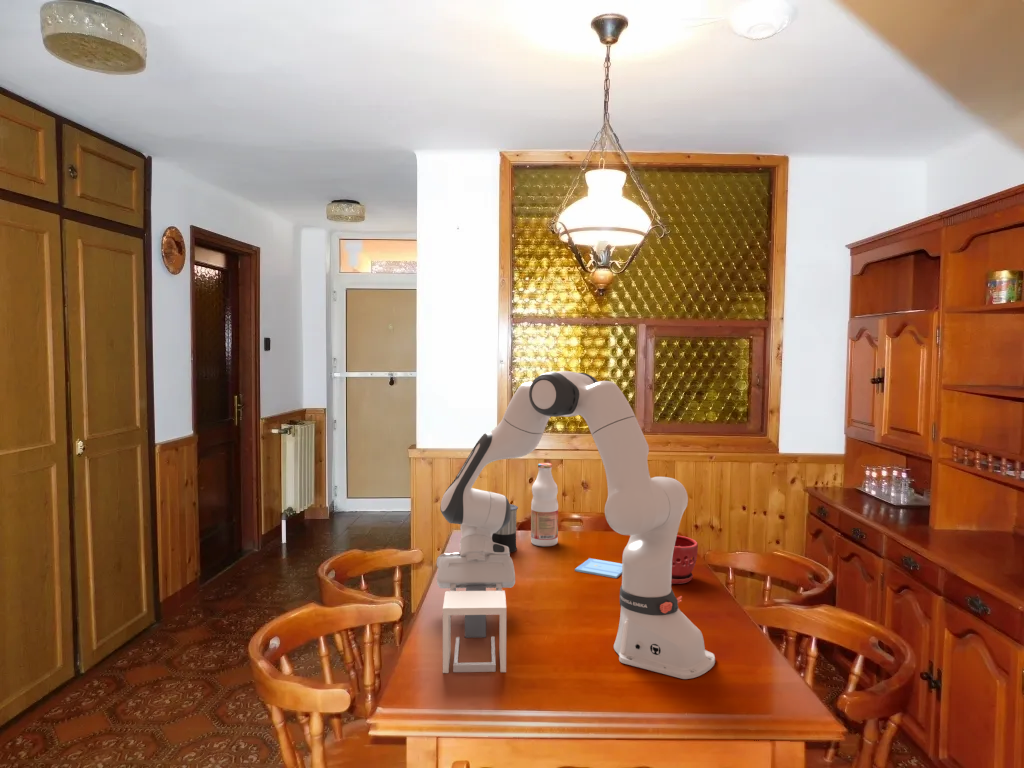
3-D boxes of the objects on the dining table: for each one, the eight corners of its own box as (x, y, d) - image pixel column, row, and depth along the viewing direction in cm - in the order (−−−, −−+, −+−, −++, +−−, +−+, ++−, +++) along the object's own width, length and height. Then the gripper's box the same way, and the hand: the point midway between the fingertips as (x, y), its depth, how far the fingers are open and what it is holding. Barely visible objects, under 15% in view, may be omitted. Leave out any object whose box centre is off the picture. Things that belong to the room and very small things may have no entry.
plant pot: (666, 589, 196) (667, 547, 195) (643, 574, 208) (644, 535, 207) (705, 584, 200) (706, 543, 199) (680, 570, 212) (681, 532, 212)
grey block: (466, 615, 176) (466, 585, 175) (485, 615, 176) (485, 585, 175) (464, 637, 163) (464, 604, 162) (485, 637, 163) (486, 604, 162)
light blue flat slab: (629, 568, 215) (629, 564, 215) (616, 580, 205) (616, 575, 204) (589, 561, 221) (589, 557, 221) (574, 572, 211) (574, 568, 211)
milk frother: (513, 544, 239) (513, 502, 238) (526, 558, 223) (526, 513, 222) (473, 547, 235) (473, 504, 234) (483, 561, 220) (483, 516, 219)
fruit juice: (525, 542, 241) (525, 463, 239) (543, 537, 247) (544, 460, 246) (545, 548, 234) (545, 467, 232) (563, 543, 240) (564, 464, 239)
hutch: (446, 640, 161) (446, 582, 160) (503, 639, 161) (504, 581, 161) (442, 673, 145) (442, 608, 144) (506, 672, 146) (506, 607, 145)
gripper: (436, 547, 179) (433, 597, 170) (514, 546, 180) (516, 597, 171) (437, 558, 184) (435, 608, 175) (513, 558, 185) (515, 607, 176)
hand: (475, 602), depth 173 cm, fingers open, 8 cm apart
